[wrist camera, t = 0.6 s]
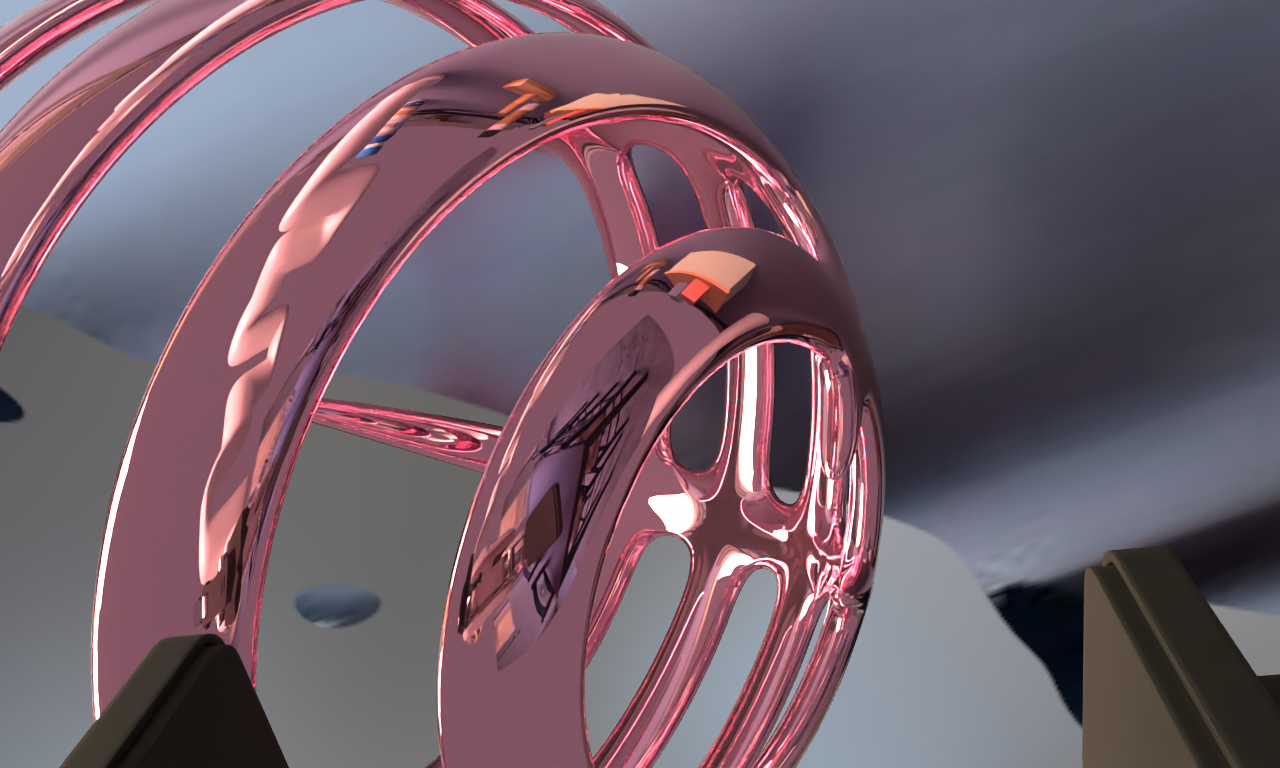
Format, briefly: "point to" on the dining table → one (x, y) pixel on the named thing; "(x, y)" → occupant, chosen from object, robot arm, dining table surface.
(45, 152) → the pink openwork sphere
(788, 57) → the dining table surface
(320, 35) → the dining table surface
